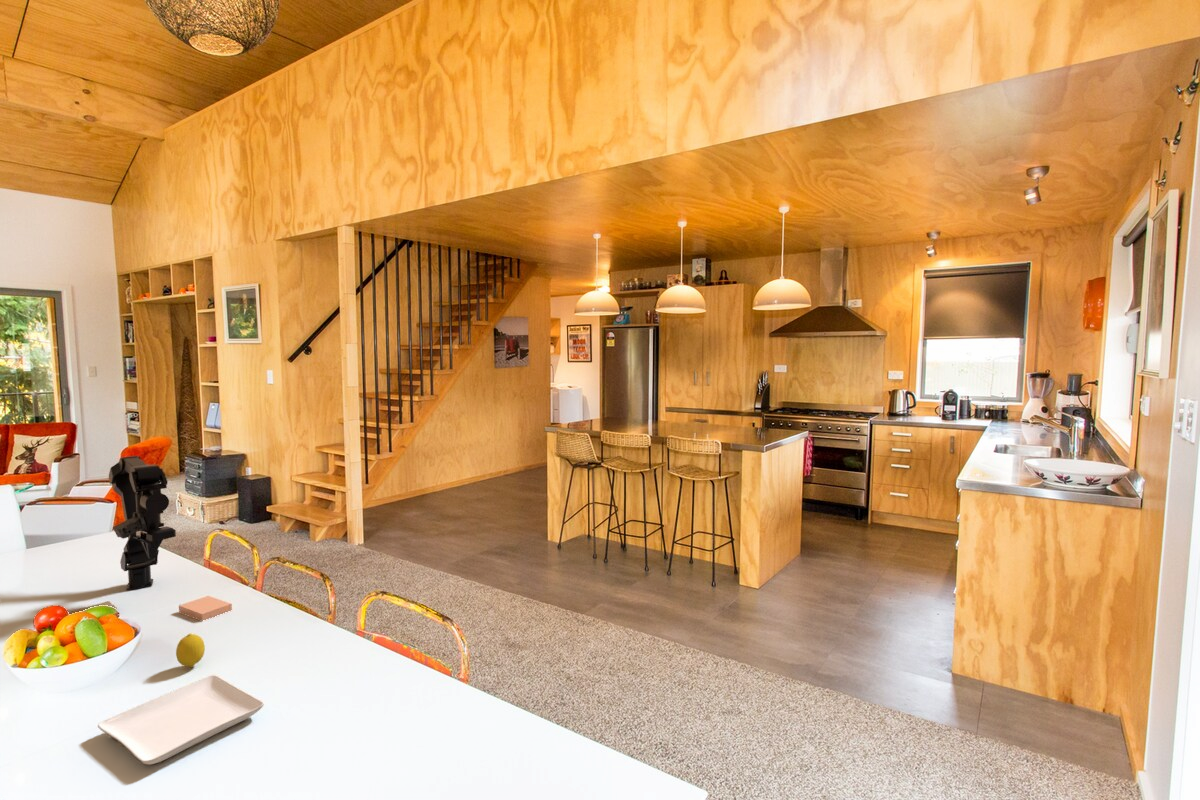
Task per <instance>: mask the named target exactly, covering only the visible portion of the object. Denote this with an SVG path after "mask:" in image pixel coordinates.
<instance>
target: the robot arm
mask: <svg viewBox="0 0 1200 800" xmlns="http://www.w3.org/2000/svg"><path fill="white" fill-rule="evenodd" d="M109 469H110V470H109V473H108V481H109V484H110V485H111V487H112V490H113V492H115V493H116V494H117V495H118V496H119V497H120V499H121V504H122V505H121V506H122V511H123V518H124V521H122V522H120V523H118V524H116V525H114V526H113V527H112V529H113V531H114V533H115V535H116V537H117V538H121V539H123V540H124V539H126V538H127V541H126V543H125V545H124V547H123V552H122V554H121V558H120V562H119V563H120V569H121V570H123V572H127V578H128V582H127V585H126V589H125V590H126V591H130V590H135V589H136V590H137V589H142V588H143V589H144V588H146V587H148V588H149V587H153V583H154V578H152V575H151V574H152V572H151V566H157V564H158V562H159V561H158V558H159V553H160V550H159V548H160V547H161V544H162V542H163V540H168V539H172V538H175V537H176V536H177V533H176V529H174V528H173V527H170V526H165V524H164V523H165V522H162V519H161V518H162V517H161V514H163V513H164V511H165V510H167V509H168V507H169V504H170V499H169V497H168V496H167V495H166V494H164V493H162V491H161V490H164V489H167V485H168V483H169V482H168V479H167V477H166V474H165V471H164V470H163V468H160V466H159V465H158V464H147V462H145V461H144V460H142V459H141V456H139V455H133V456H132V455H131V456H123V457H121V458H119V461H118V462H117V463H115V464H114V465H113V466H111V467H110V468H109Z"/></svg>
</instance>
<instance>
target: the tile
mask: <svg viewBox="0 0 1200 800" xmlns="http://www.w3.org/2000/svg"><path fill="white" fill-rule="evenodd" d="M232 605H233V604H232V603H231V602H227V601H225V600H222V599H220V598H219V599H218V598H216V597H213V596H210V595H207V596H204V597H200V598H197V599H193V600H191V601H187V602H185V603H182V604H179V605H178V613H179V612H181V613H180V614H182V613H183V614H182V615H184V614H186V615H185V616H187V615H189V616H188V617H190V616H191V617H190V618H192V617H194V618H193V619H195V618H197V619H196V620H198V619H199V620H198V621H200V620H202V621H201V622H204V621H203V620H205V621H207V620H206V619H208V620H209V618H210V619H213V618H216V617H218V616H217V615H219V616H221V615H220V614H222V615H224V614H226V613H225V612H227V613H229V612H228V611H230V612H232V611H233V606H232ZM231 610H232V611H231ZM223 613H224V614H223ZM215 616H216V617H215ZM212 617H213V618H212Z"/></svg>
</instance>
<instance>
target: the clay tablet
mask: <svg viewBox="0 0 1200 800" xmlns="http://www.w3.org/2000/svg"><path fill="white" fill-rule="evenodd" d="M99 605H108V606H112V607H114V608H116V609H117V610H118V608H117V607H116V606H115V604H112V602H111V601H110V600H109V601H105V602H100V603H97V604H92V605H89V606H84V607H81V608H77V609H73V610H68V612H69V614H72V613H75V612H79V611H83V610H85V609H88V608H90V607H94V606H99Z"/></svg>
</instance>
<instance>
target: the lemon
mask: <svg viewBox="0 0 1200 800" xmlns="http://www.w3.org/2000/svg"><path fill="white" fill-rule="evenodd" d="M205 647H206V646H205V642H204V640H203V638H202V637H201V636H200V635H198V634H195V633H187V635H185V636H184V637H182V638H181V639H180V640H179V642H178V643H177V646H176V650H175V656H176V659H177V662H178V663H179V664H180V665H182V666H185V667H188V668H193V667H194V666H195V665H196V664H198V663H199V662H200V661H201V660H202V659H203V657H204V655H205V651H206V649H205Z"/></svg>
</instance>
